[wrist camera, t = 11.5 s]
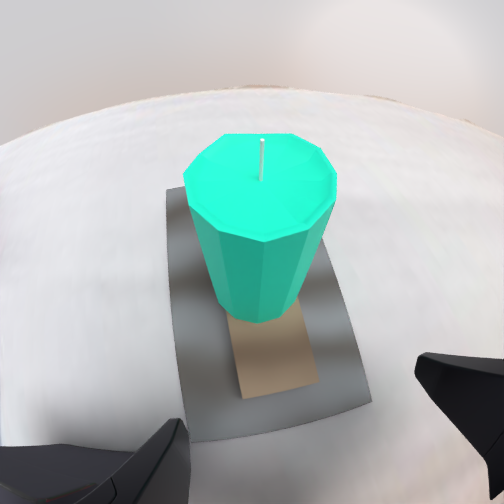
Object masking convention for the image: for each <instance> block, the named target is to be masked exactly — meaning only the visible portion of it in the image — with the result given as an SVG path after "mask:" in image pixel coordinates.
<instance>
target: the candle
mask: <svg viewBox="0 0 504 504" xmlns="http://www.w3.org/2000/svg"><path fill="white" fill-rule="evenodd" d="M183 177H184V183H185V188H186V194H187V199H188V204H189V208H190V211H191V215H192V218H193V222H194V225H195V229H196V232H197V236H198V239H199V242H200V246H201V249H202V252H203V255H204V259H205V262H206V265H207V268H208V271H209V275H210V278H211V281H212V284H213V287H214V290H215V293H216V296H217V299H218V302H219V304H220V305H221V306H222V307H223V308H224V309H225V310H227V311H228V312H229V313H230V314H231V315H232V316H233V317H234V318H235V319H240V320H244V321H248V322H252V323H256V324H259V323H262V322H266V321H269V320H273V319H276V318H279V317H281V316H282V315H283V314H284V312H285V311H286V310H287V309H288V308H289V307H290V306H291V305H292V304H293V303H294V302H295V300H296V298H297V295H298V293H299V291H300V289H301V286H302V284H303V282H304V279H305V277H306V275H307V272H308V270H309V267H310V265H311V263H312V260H313V258H314V255H315V253H316V250H317V248H318V245H319V243H320V240H321V238H322V235H323V233H324V230H325V228H326V225H327V223H328V220H329V217H330V215H331V212H332V209H333V207H334V204H335V201H336V193H337V173H336V171H335V170H334V168H333V166H332V165H331V163H330V162H329V160H328V159H327V157H326V156H325V154H324V153H323V151H322V150H321V148H319V147H317V146H316V145H314V144H312V143H310V142H308V141H306V140H304V139H302V138H300V137H298V136H296V135H294V134H224V135H223V136H221V137H220V138H219V139H218V140H216V141H215V142H214V143H212V144H211V145H210V146H209V147H207V148H206V149H205V150H204V151H202V152H201V153H200V154H199V155H198V156H197V157H196V158H195V159H194V161H193V162H192V163H191V164H190V166H189V167H188V168H187V169H186V170H185V172H184V173H183Z"/></svg>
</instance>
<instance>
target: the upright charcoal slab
mask: <svg viewBox="0 0 504 504" xmlns="http://www.w3.org/2000/svg"><path fill="white" fill-rule="evenodd" d="M135 453H136V452H124V451H111V450H101V449H93V448H85V447H79V446H72V445H67V444H54V445H41V446H16V447H5V446H0V504H75V503H76V502H78V501H79V500H81V499H82V498H84V497H85V496H86V495H88V494H89V493H91V492H92V491H93V490H95V489H96V488H97V487H98V486H99V485H101V484H102V483H103V482H104V481H105V480H106V479H107V478H108V477H111V475H112V474H113V473H114V472H116V471H117V470H118V469H119V468H120V467H121V466H122V465H123V464H124V463H125V462H126V461H127V460H128V459H129V458H130V457H131V456H133V455H134V454H135Z"/></svg>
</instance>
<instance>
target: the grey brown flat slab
mask: <svg viewBox="0 0 504 504" xmlns="http://www.w3.org/2000/svg"><path fill="white" fill-rule="evenodd" d="M166 217H167V252H168V272H169V287H170V300H171V312H172V322H173V332H174V341H175V349H176V357H177V364H178V371H179V378H180V384H181V391H182V397H183V403H184V408H185V414H186V419H187V424H188V429H189V434H190V439H191V443H193V442H205V441H215V440H224V439H231V438H238V437H245V436H251V435H257V434H262V433H267V432H272V431H277V430H281V429H286V428H290V427H294V426H298V425H302V424H306V423H309V422H313V421H316V420H320V419H323V418H327V417H330V416H333V415H336V414H339V413H342V412H345V411H348V410H351V409H354V408H356V407H359V406H362V405H364V404H367V403H370V402H372V399H371V395H370V391H369V387H368V383H367V379H366V375H365V371H364V367H363V363H362V360H361V356H360V352H359V349H358V345H357V342H356V338H355V335H354V332H353V328H352V325H351V322H350V318H349V315H348V312H347V309H346V306H345V302H344V299H343V296H342V293H341V290H340V287H339V284H338V281H337V278H336V275H335V273H334V270H333V267H332V264H331V261H330V258H329V256H328V253H327V250H326V247H325V245H324V242H323V239H322V238H321V240H320V243H319V245H318V248H317V250H316V253H315V255H314V258H313V260H312V263H311V265H310V267H309V270H308V272H307V275H306V277H305V279H304V282H303V284H302V286H301V289H300V291H299V293H298V295H297V298H296V300H295V302H294V303H293V304H292V305H291V306H290V307H289V308H288V309H287V310H286V311H285V312H284V314H283V315H282V316H281V317H279V318H276V319H273V320H269V321H266V322H262V323H259V324H256V323H252V322H248V321H244V320H240V319H235V318H234V317H233V316H232V315H231V314H230V313H229V312H228V311H227V310H225V309H224V308H223V307H222V306H221V305H220V304H219V302H218V299H217V296H216V293H215V290H214V287H213V284H212V281H211V278H210V275H209V271H208V268H207V265H206V262H205V259H204V255H203V252H202V249H201V246H200V242H199V239H198V236H197V232H196V229H195V225H194V222H193V218H192V215H191V211H190V208H189V204H188V199H187V194H186V188H185V186H184V187H178V188H173V189H168V190H166Z"/></svg>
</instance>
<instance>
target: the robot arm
mask: <svg viewBox="0 0 504 504" xmlns="http://www.w3.org/2000/svg"><path fill="white" fill-rule="evenodd" d="M414 373H415V377H416V378H417V380H418V381H419V382H420V384H421V385H422V387H423V388H424V389H425V391H426V392H427V394H428V395H429V397H430V398H431V399H432V400H433V402H434V403H435V404H436V405H437V406H438V407H439V408H440V409H441V410H442V412H443V413H444V414H445V415H446V416H447V417H448V418H449V419H450V421H451V422H452V423H453V424H454V425H455V426H456V427H457V428H458V430H459V431H460V432H461V433H462V434H463V435H464V436H465V438H466V439H467V440H468V441H469V442H470V443H471V445H472V446H473V447H474V448H475V449H476V450H477V452H478V453H479V454H480V455H481V456H482V457H483V459H484V460H485V462H486V464H487V468H488V478H489V494H490V500H493V499H494V498H495V497H496V496H497V495H499V494H500V493H501V492H502V491H503V490H504V359H503V360H502V359H495V358H480V357H467V356H457V355H447V354H438V353H430V352H425V353H423V354H421V355H419V356H418V358H417V362H416V366H415V371H414ZM190 473H191V463H190V443H189V434H188V431H187V429H186V427H185V425H184V423H183V421H182V420H181V419H180V418H174V419H169V420H168V421H167V422H166V423H165V424H164V425H163V426H162V427H161V428H160V429H159V430H158V431H157V432H156V433H155V434H154V435H153V436H152V437H151V438H150V439H149V440H148V441H147V442H146V443H145V444H144V445H143V446H142V447H141V448H140V449H139V450H138V451H137V452H136V453H135V454H134V455H133V456H131V457H130V458H129V459H128V460H127V461H126V462H125V463H124V464H123V465H122V466H121V467H120V468H119V469H118V470H117V471H116V472H114V473H113V474H112V475H111V477H108V478H107V479H106V480H105V481H104V482H103V483H102V484H101V485H99V486H98V487H97V488H96V489H95V490H93V491H92V492H91V493H89V494H88V495H86V496H85V497H84V498H82V499H81V500H79V501H78V502H76V503H75V504H188V497H189V485H190Z"/></svg>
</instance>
